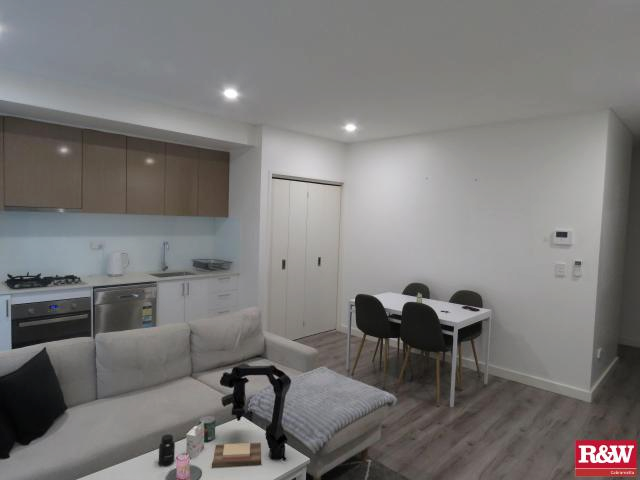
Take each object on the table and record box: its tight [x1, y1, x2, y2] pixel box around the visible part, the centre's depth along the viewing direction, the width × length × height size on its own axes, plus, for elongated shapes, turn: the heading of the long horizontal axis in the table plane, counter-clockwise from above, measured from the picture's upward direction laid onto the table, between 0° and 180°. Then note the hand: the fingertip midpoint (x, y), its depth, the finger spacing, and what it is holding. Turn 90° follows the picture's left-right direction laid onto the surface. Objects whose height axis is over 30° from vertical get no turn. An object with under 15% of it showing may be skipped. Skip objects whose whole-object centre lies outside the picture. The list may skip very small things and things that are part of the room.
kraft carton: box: [223, 442, 251, 462], centre depth 190 cm, size 9×12×5 cm
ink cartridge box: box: [186, 421, 205, 459], centre depth 194 cm, size 9×5×15 cm, turn 168°
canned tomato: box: [198, 415, 216, 443], centre depth 207 cm, size 8×8×11 cm
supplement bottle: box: [158, 434, 176, 467], centre depth 187 cm, size 7×7×12 cm
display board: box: [211, 442, 262, 469], centre depth 194 cm, size 19×22×3 cm
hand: (238, 420), depth 204 cm, fingers closed
